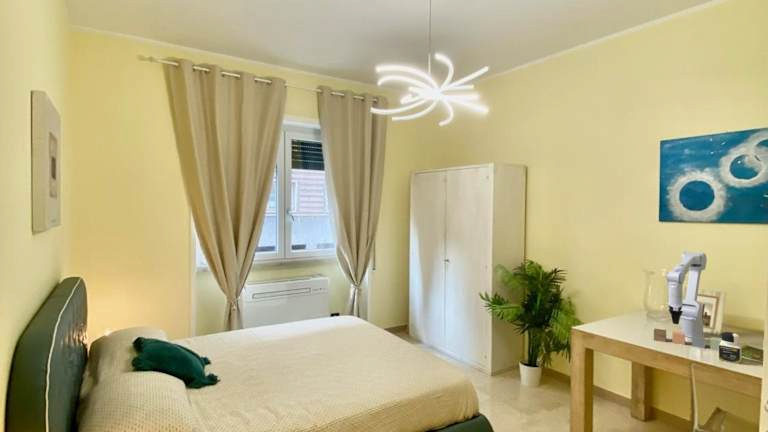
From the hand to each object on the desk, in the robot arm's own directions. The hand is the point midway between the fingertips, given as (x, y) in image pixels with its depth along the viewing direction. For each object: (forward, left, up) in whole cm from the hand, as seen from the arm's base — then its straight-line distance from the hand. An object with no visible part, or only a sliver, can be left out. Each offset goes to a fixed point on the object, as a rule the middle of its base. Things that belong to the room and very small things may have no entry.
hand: (675, 322), depth 206 cm
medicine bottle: (-2, +25, -11) cm, 27 cm away
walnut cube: (+4, -5, -10) cm, 12 cm away
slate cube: (-6, +7, -10) cm, 14 cm away
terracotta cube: (-1, +1, -10) cm, 10 cm away
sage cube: (-10, +13, -10) cm, 19 cm away
